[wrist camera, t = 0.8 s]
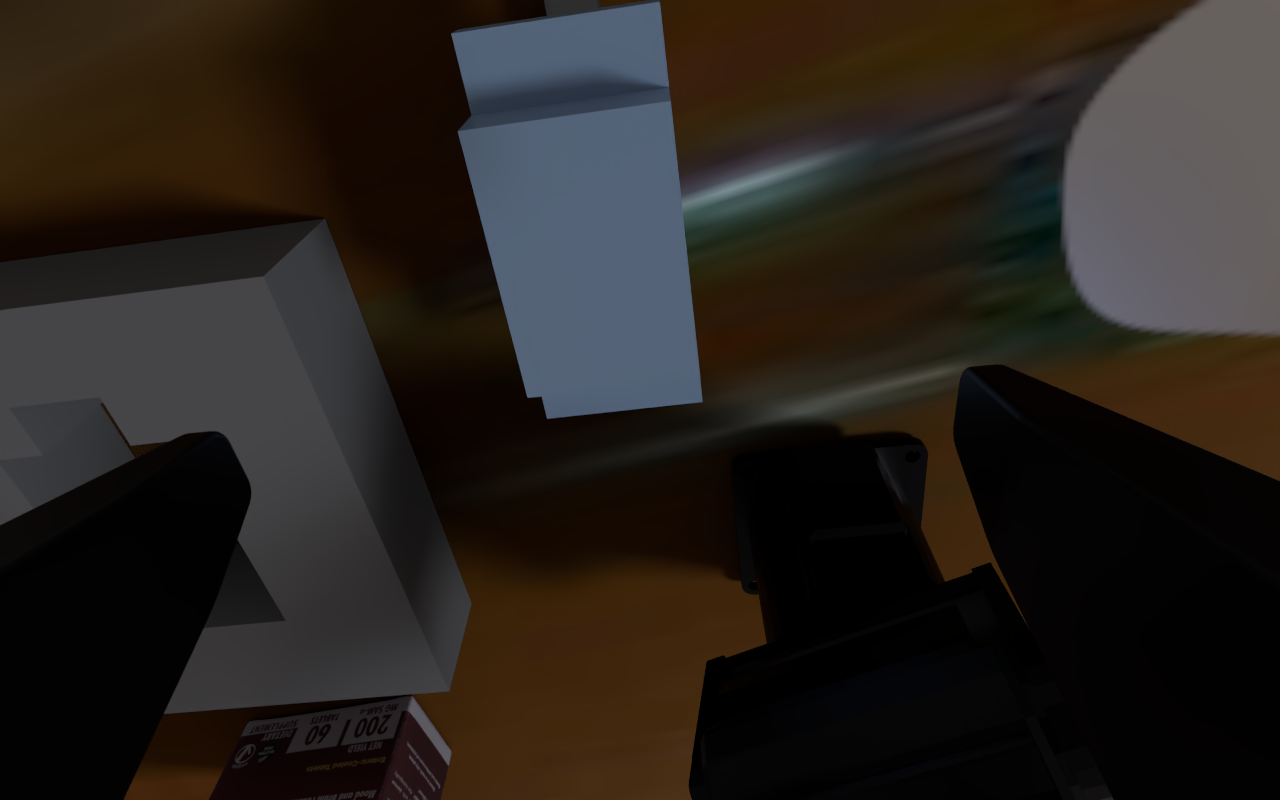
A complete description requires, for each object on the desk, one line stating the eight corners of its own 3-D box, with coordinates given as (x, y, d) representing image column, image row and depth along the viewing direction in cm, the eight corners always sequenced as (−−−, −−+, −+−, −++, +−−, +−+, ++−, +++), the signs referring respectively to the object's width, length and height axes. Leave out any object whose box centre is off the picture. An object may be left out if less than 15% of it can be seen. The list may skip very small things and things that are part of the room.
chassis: (471, 603, 29) (449, 691, 26) (143, 632, 31) (82, 720, 27) (324, 218, 21) (263, 276, 17) (-126, 279, 22) (-264, 344, 19)
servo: (692, 316, 23) (706, 432, 18) (564, 332, 23) (540, 449, 18) (656, -23, 18) (659, 2, 13) (493, 3, 18) (433, 37, 13)
